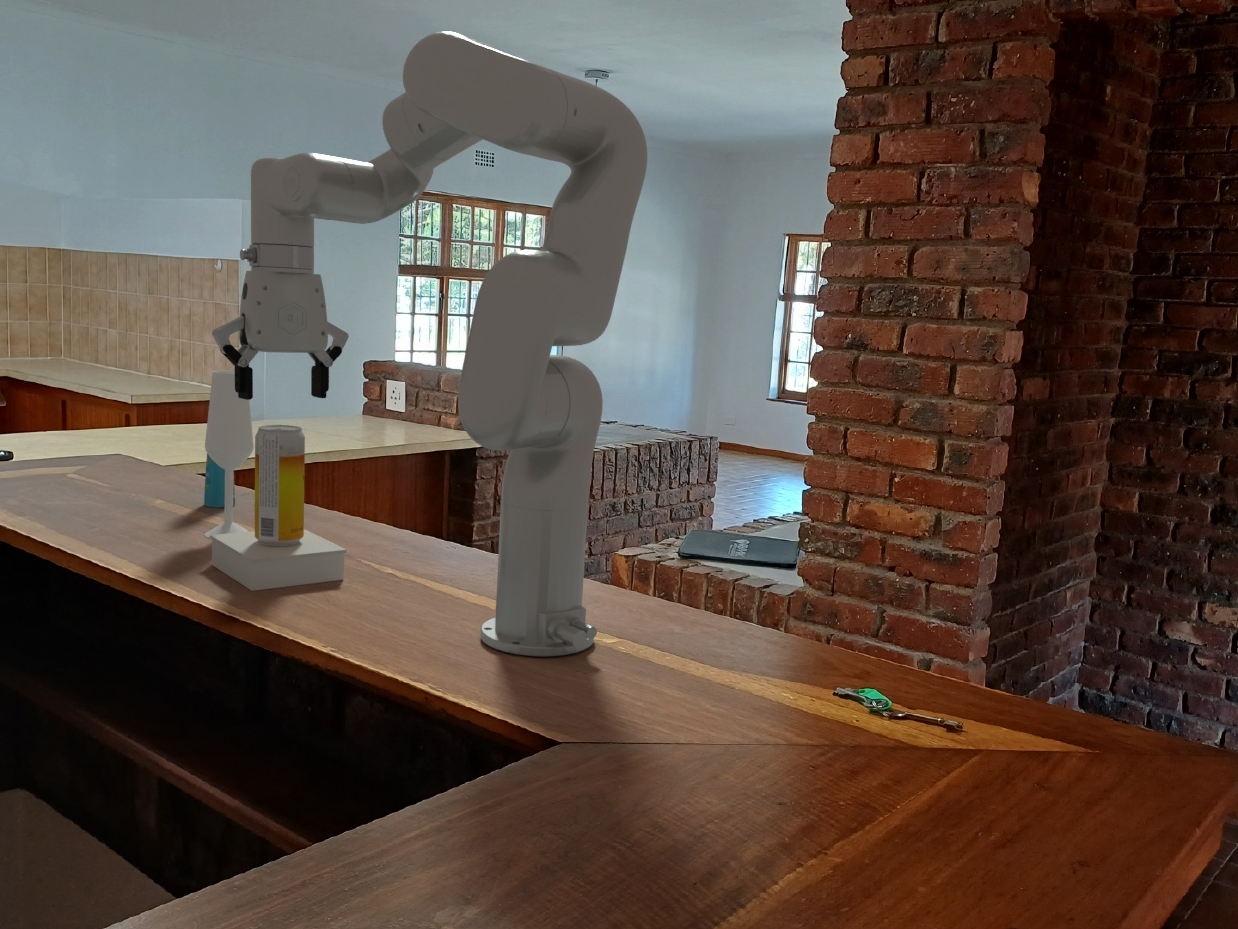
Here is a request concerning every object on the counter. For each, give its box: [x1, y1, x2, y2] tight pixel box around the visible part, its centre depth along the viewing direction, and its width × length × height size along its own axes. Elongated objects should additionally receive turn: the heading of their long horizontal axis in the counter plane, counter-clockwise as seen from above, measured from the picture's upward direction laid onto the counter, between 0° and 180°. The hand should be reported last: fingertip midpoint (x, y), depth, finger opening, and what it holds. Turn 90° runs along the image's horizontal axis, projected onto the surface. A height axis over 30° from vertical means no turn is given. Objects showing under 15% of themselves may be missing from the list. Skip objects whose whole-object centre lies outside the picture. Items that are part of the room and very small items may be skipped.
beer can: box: [254, 424, 306, 546], centre depth 140 cm, size 6×6×15 cm
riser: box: [209, 528, 347, 592], centre depth 142 cm, size 14×12×4 cm
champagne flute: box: [204, 370, 255, 539], centre depth 159 cm, size 7×7×24 cm
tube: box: [203, 452, 236, 509], centre depth 179 cm, size 7×5×19 cm, turn 28°
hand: (282, 397), depth 138 cm, fingers open, 9 cm apart
